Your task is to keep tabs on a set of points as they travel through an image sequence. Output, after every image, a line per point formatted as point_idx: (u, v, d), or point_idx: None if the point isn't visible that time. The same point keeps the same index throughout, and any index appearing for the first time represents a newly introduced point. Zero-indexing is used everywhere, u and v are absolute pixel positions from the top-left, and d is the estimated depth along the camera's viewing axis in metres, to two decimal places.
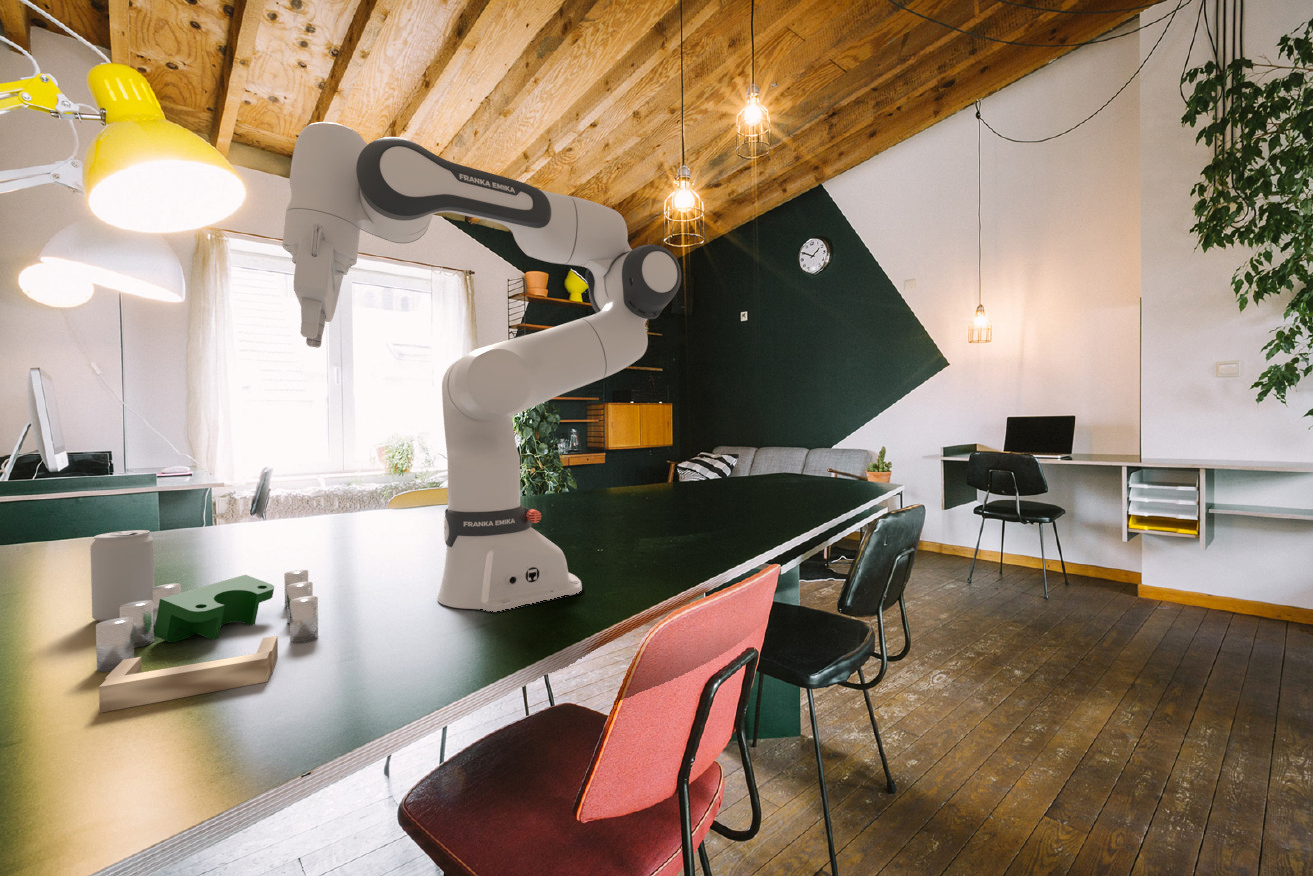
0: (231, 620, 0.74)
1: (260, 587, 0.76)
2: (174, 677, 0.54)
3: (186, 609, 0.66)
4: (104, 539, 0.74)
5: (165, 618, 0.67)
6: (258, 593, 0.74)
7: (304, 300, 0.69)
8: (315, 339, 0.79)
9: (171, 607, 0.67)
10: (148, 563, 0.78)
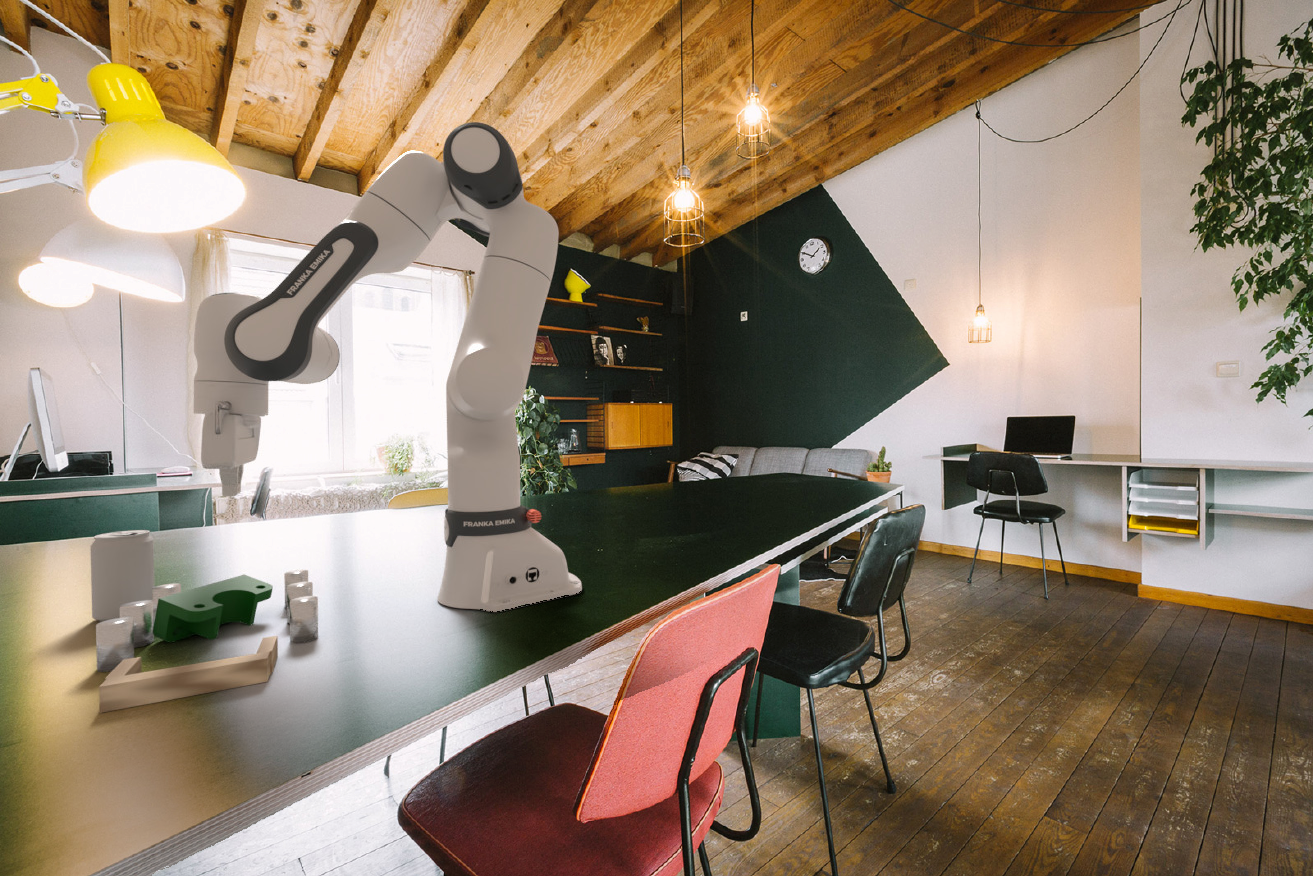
0: (229, 620, 0.74)
1: (259, 587, 0.76)
2: (174, 677, 0.54)
3: (184, 609, 0.66)
4: (104, 539, 0.74)
5: (163, 618, 0.67)
6: (257, 593, 0.74)
7: None
8: None
9: (169, 607, 0.67)
10: (148, 563, 0.78)
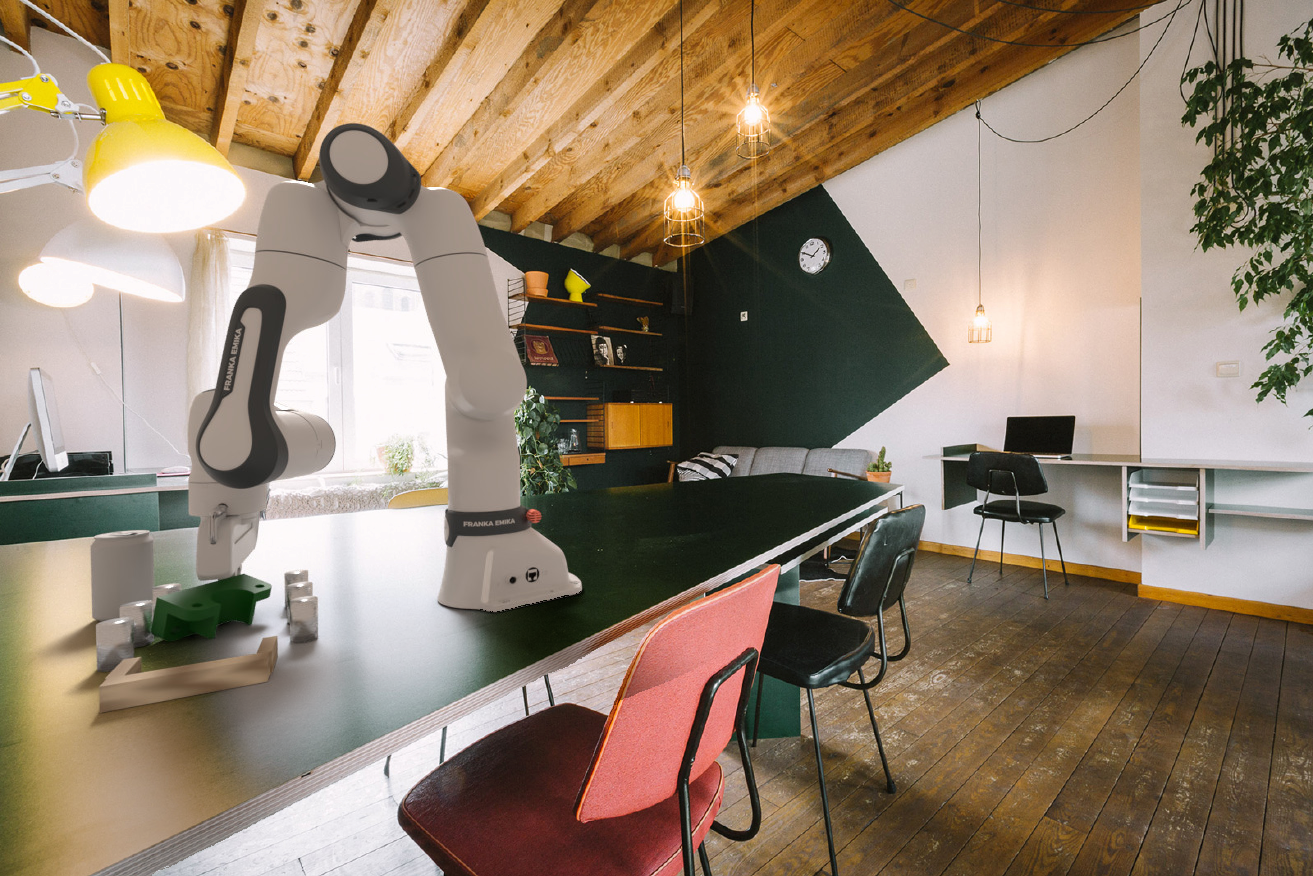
0: (228, 619, 0.74)
1: (258, 586, 0.76)
2: (174, 677, 0.54)
3: (182, 608, 0.66)
4: (104, 539, 0.74)
5: (161, 616, 0.67)
6: (255, 592, 0.74)
7: None
8: None
9: (167, 606, 0.67)
10: (148, 563, 0.78)
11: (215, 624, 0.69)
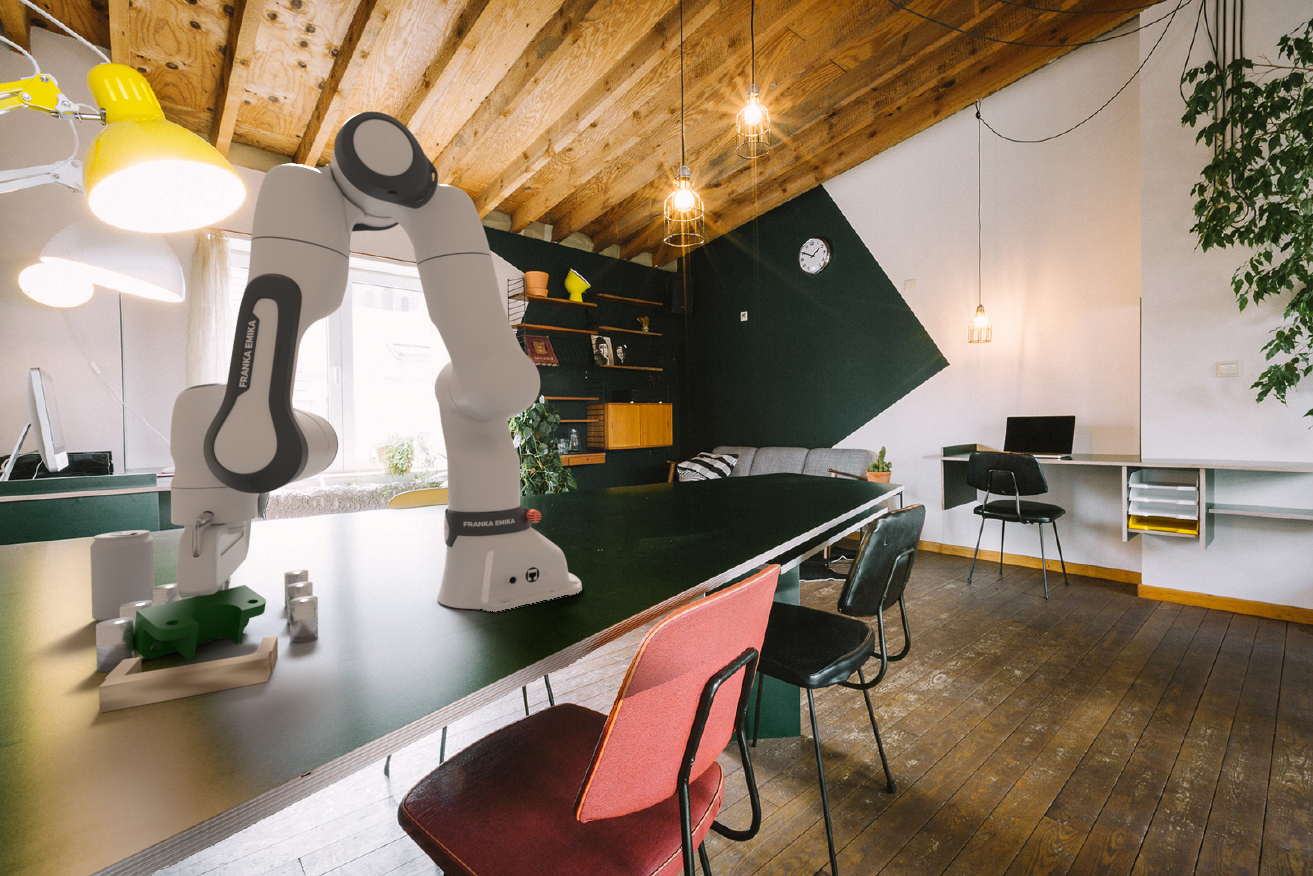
0: (219, 636, 0.68)
1: (252, 601, 0.70)
2: (174, 677, 0.54)
3: (154, 625, 0.61)
4: (104, 539, 0.74)
5: (139, 632, 0.62)
6: (243, 609, 0.67)
7: None
8: None
9: (144, 621, 0.62)
10: (148, 563, 0.78)
11: (193, 644, 0.63)
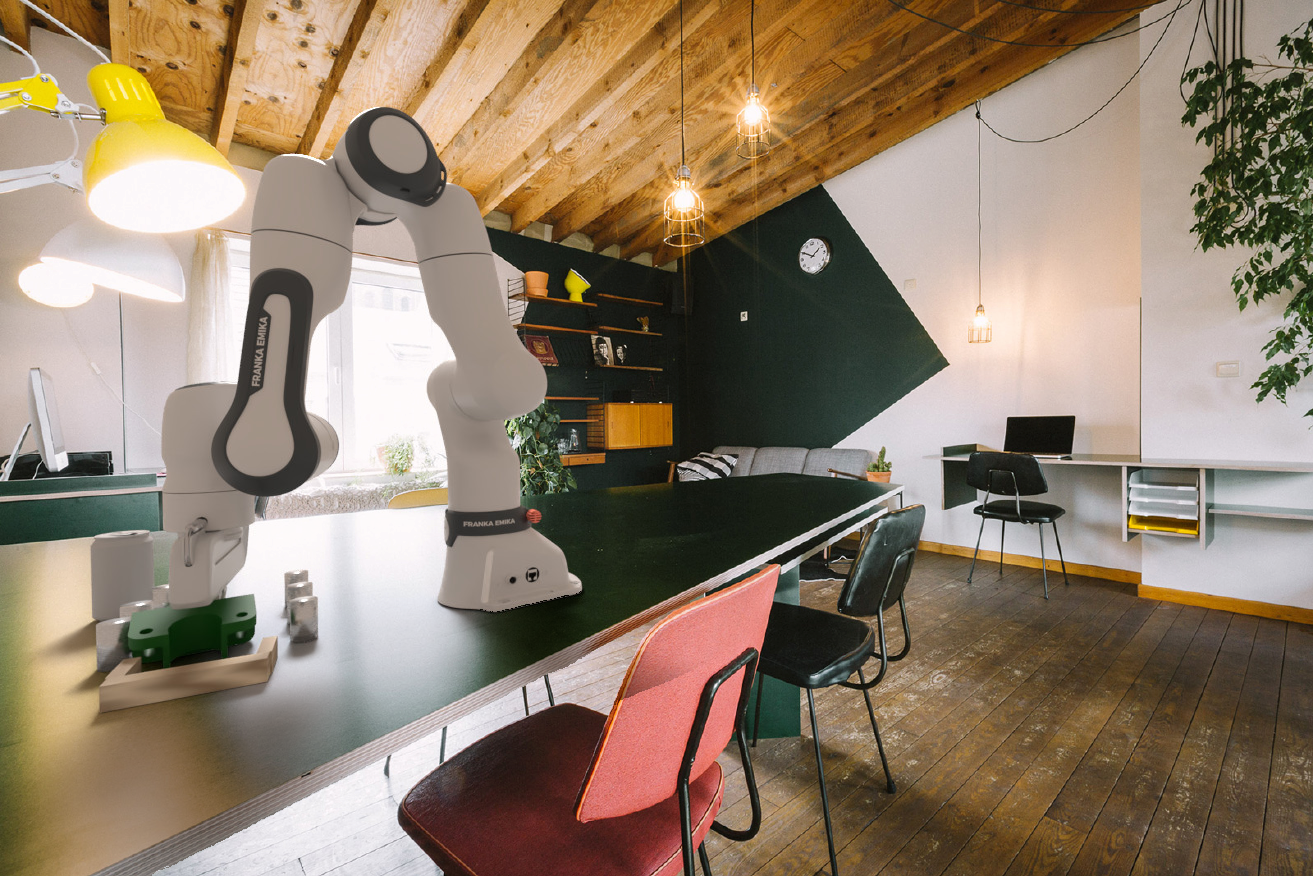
0: (213, 647, 0.65)
1: (244, 614, 0.65)
2: (174, 677, 0.54)
3: (128, 632, 0.59)
4: (104, 539, 0.74)
5: None
6: (224, 623, 0.63)
7: None
8: None
9: None
10: (148, 563, 0.78)
11: (166, 656, 0.60)
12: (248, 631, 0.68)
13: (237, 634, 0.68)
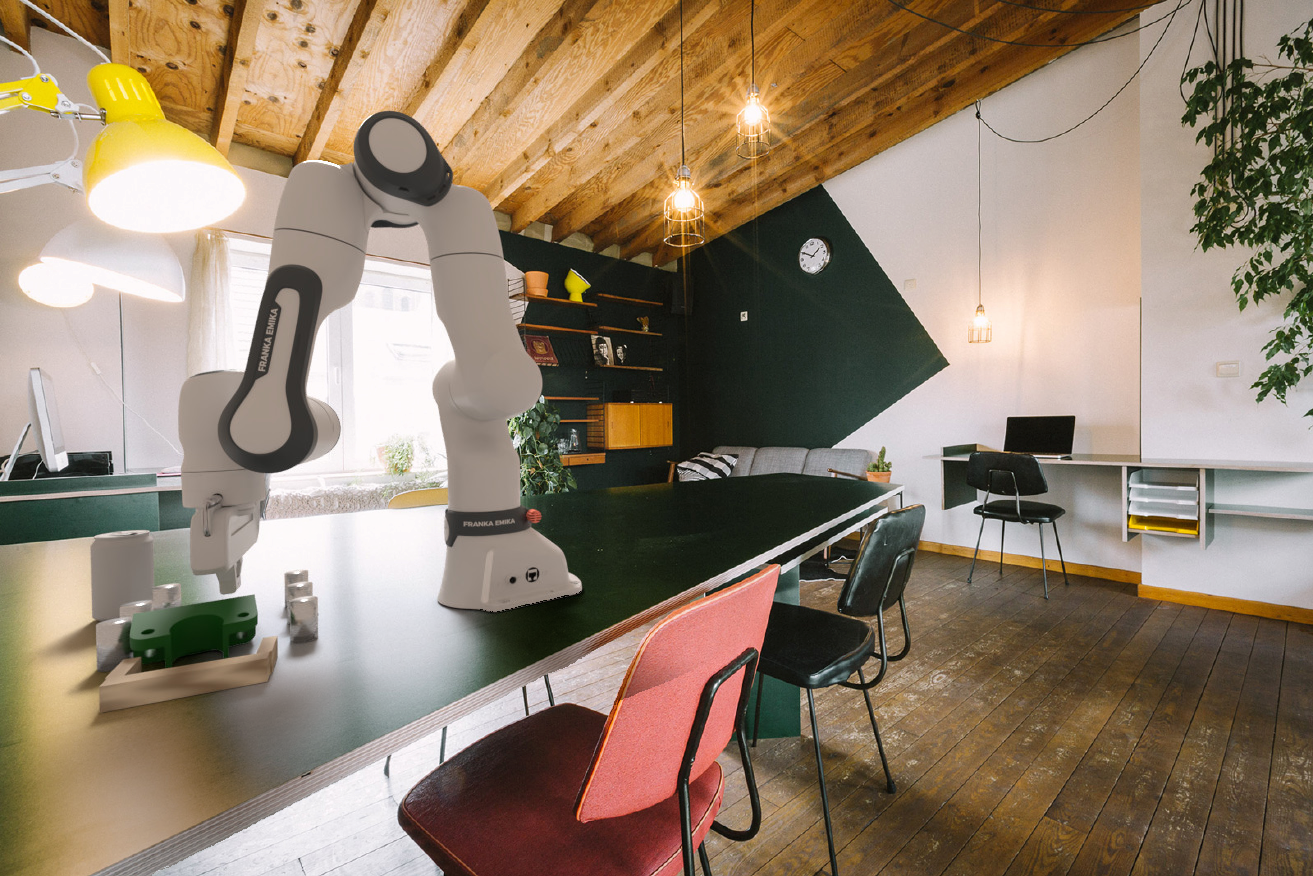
0: (214, 647, 0.65)
1: (245, 614, 0.65)
2: (174, 677, 0.54)
3: None
4: (104, 539, 0.74)
5: None
6: (226, 623, 0.63)
7: None
8: None
9: None
10: (148, 563, 0.78)
11: (168, 656, 0.60)
12: (249, 632, 0.68)
13: (238, 635, 0.68)
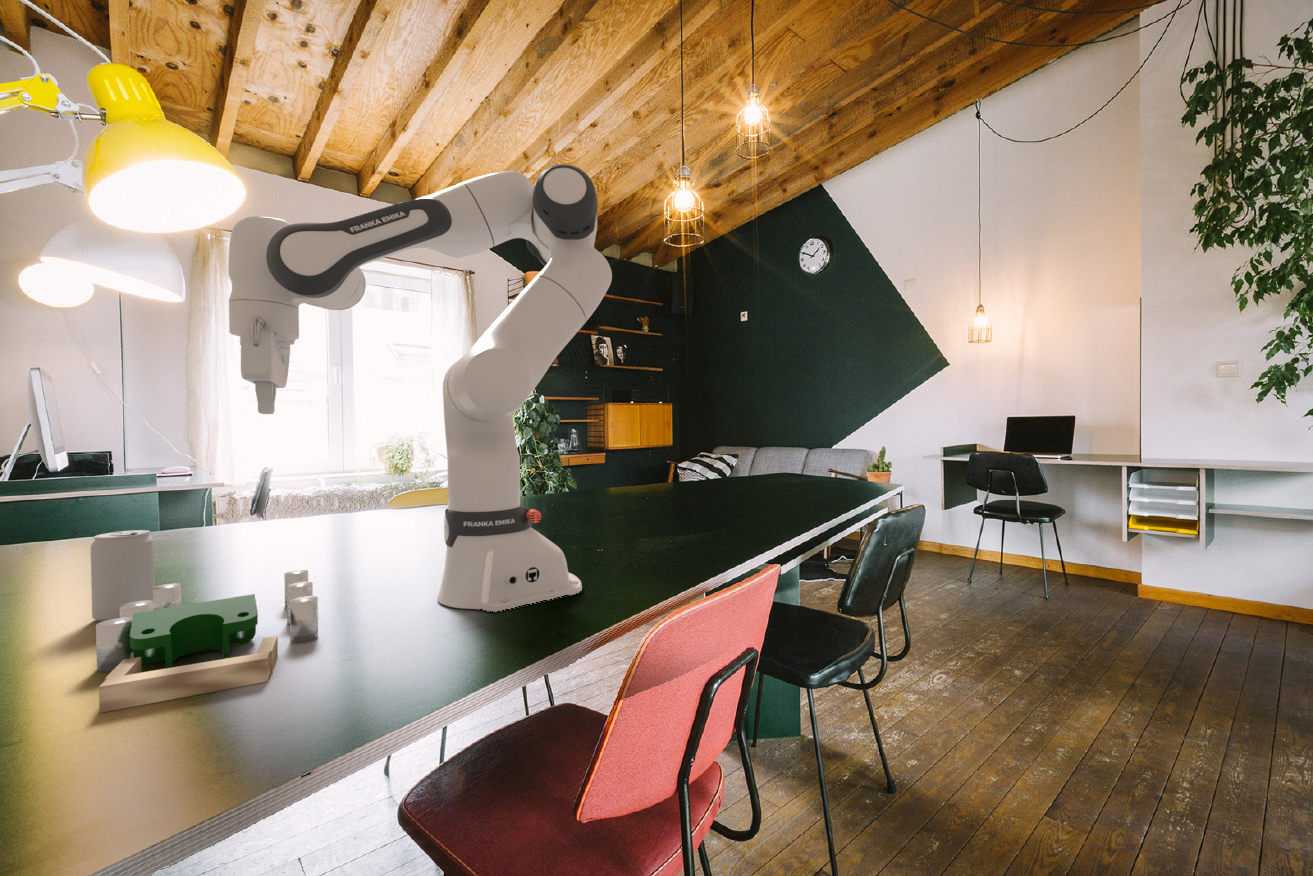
0: (215, 647, 0.65)
1: (245, 614, 0.65)
2: (174, 677, 0.54)
3: (130, 632, 0.59)
4: (104, 539, 0.74)
5: None
6: (226, 623, 0.63)
7: (257, 385, 0.82)
8: None
9: None
10: (148, 563, 0.78)
11: (168, 656, 0.60)
12: (249, 631, 0.68)
13: (238, 634, 0.68)
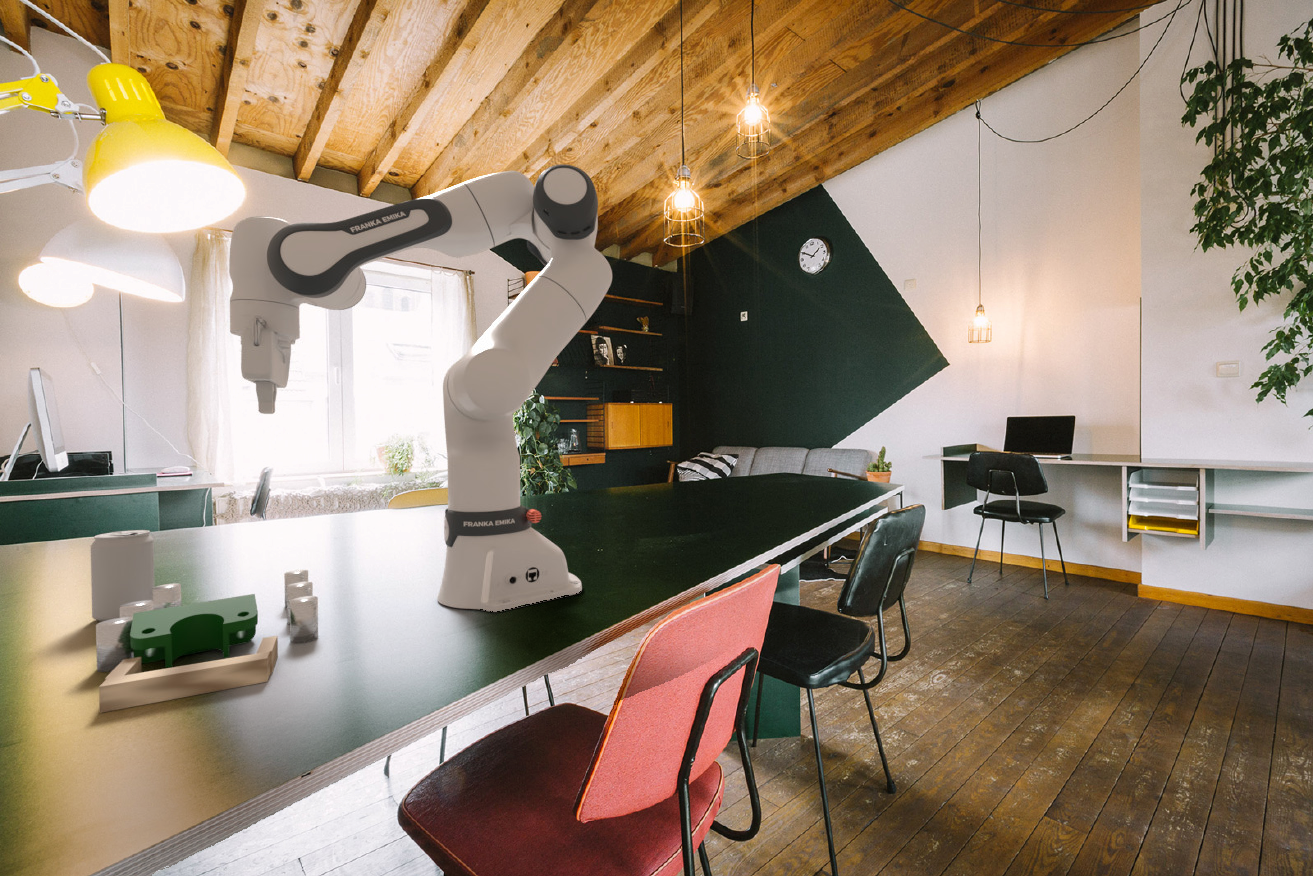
0: (215, 646, 0.65)
1: (245, 613, 0.66)
2: (174, 677, 0.54)
3: (130, 632, 0.59)
4: (104, 539, 0.74)
5: None
6: (226, 622, 0.63)
7: (258, 384, 0.82)
8: None
9: None
10: (148, 563, 0.78)
11: (169, 655, 0.60)
12: (249, 631, 0.68)
13: (238, 634, 0.68)
